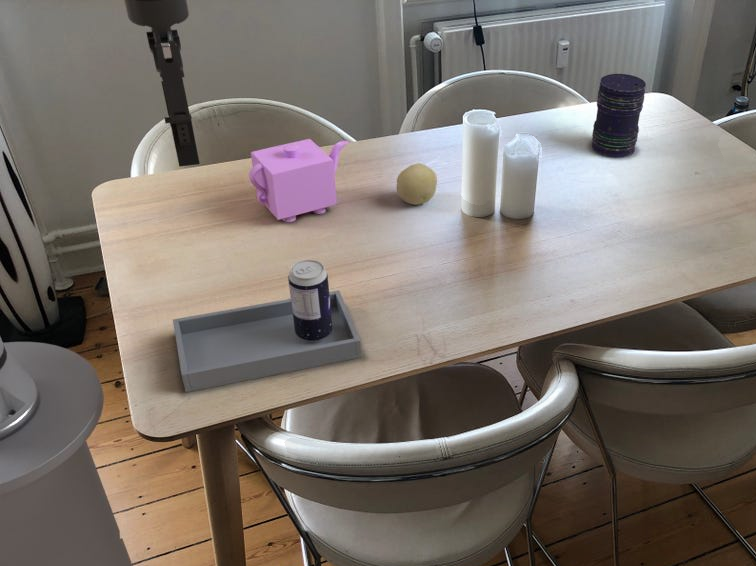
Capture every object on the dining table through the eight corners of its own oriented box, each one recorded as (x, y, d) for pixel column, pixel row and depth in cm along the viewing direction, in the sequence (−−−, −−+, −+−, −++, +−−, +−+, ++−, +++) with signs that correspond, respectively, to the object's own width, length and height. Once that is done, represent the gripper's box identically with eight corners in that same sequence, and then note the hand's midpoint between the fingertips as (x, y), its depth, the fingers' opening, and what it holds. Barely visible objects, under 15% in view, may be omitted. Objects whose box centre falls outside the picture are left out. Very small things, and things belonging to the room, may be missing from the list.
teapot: (266, 230, 152) (257, 168, 144) (245, 206, 159) (235, 145, 151) (363, 204, 161) (360, 144, 153) (340, 182, 168) (336, 123, 160)
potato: (440, 211, 160) (440, 173, 155) (399, 213, 159) (398, 175, 154) (434, 192, 166) (434, 155, 161) (395, 194, 165) (394, 157, 160)
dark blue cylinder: (585, 152, 183) (594, 86, 173) (596, 135, 190) (605, 70, 180) (630, 161, 180) (641, 94, 171) (639, 143, 187) (650, 78, 178)
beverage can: (338, 338, 128) (333, 273, 120) (304, 349, 125) (296, 283, 118) (323, 318, 131) (317, 254, 124) (289, 329, 129) (281, 264, 121)
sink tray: (185, 392, 118) (181, 375, 116) (176, 336, 128) (172, 319, 126) (361, 357, 126) (360, 340, 124) (340, 306, 135) (339, 290, 133)
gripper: (194, 16, 98) (222, 179, 111) (174, -41, 116) (201, 106, 129) (126, 20, 96) (164, 186, 109) (117, -38, 113) (150, 111, 127)
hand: (184, 143), depth 119 cm, fingers open, 13 cm apart
